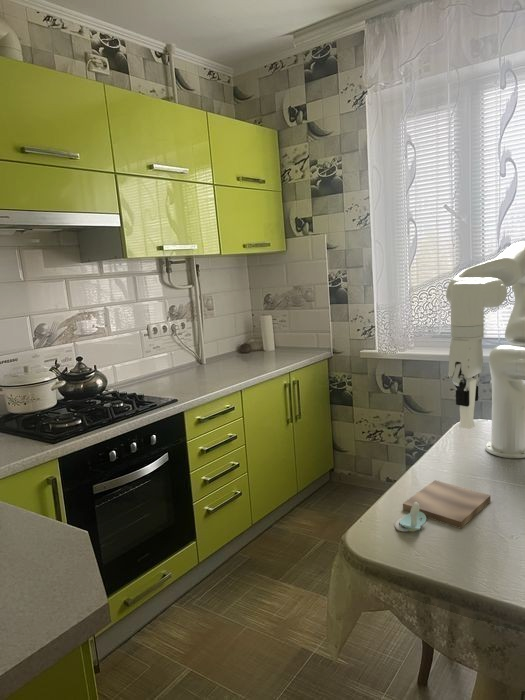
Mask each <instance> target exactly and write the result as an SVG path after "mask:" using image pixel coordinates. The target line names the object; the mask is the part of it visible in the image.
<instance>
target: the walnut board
mask: <svg viewBox="0 0 525 700" xmlns="http://www.w3.org/2000/svg"><path fill="white" fill-rule="evenodd" d="M491 497H492V496H491V495H490V494H487V493H483V492H480V491H477V490H472V489H469V488H466V487H461V486H458V485H454V484H450V483H446V482H443V481H440V480H435V479H434V480H433V481H431V483H429V484H428V485H426V486H425V487H424V488H422V489H420V490H419V491H418V492H416V493H415V494H414V495H412V496H411V497H409V498H408V499H407V500H405V501H404V502H403V503H402V510H404V511H406V512H410V511H411V508H412V506H413V504H414V502H417V503H418V504H419V506H420V509H419V512H422V513H424V514H425V516H426V518H428V519H432V520H434V521H437V522H440V523H442V524H446V525H450V526H451V527H455V528H459V529H462V528H463V527H464V526H465V525H466V524H467V523H469V522H470V521H471V520H472V519H473V518H474V517H475V516H476V515H477V514H479V512H480V511H482V510H483V509H484V508H485V507H486V506H487V505H488V504H489V503H491Z"/></svg>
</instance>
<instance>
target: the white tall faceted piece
mask: <svg viewBox="0 0 525 700" xmlns="http://www.w3.org/2000/svg"><path fill="white" fill-rule="evenodd" d="M460 378H464V376H462V375H461V376H460ZM460 381H461V382H463V384H464V381H463V380H460ZM468 391H469V406H460V405H459V417H460V420H459V423H458V424H459V426H458V427H459V428H461V429H468V430H469V429H472V428H475V421H474V414H475V406H476V405H475V403H476V401H475V393H476V379H474V378H472V377H471V378H469V382H468Z"/></svg>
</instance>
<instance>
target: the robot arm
mask: <svg viewBox="0 0 525 700" xmlns="http://www.w3.org/2000/svg"><path fill="white" fill-rule="evenodd" d="M511 286H512V290H513V292H512V293H513V294H514V305H513V308H512V311H511V313H510V316H509V318H508V321H507V324H506V327H505V332H504V338H505V341H506V342H507V343H508V344H501V345H497V346H495V347H493V349H491V351H490V352H489V357H488V365H489V371H490V378H491V441H487V443H486V444H485V450H486V452H488V453H489V454H492V455H494V456H496V457H500V458H505V459H525V384H524V382H523V381H525V240H524V241H523V240H522V241H519V242H518V241H517V242H516V243H513V244H511V245H510V246H509V247H507V248H506V249H504V250H503V251H502V252H501V253H500V254H499V255H497V257H496V258H494V259H491V260H487V261H485V262H481V263H479V264H476V265H473V266H471V267H467V268H466V269H463V270H461V271H460V272H459V273H458V274H457V275H455V276H454V277H453V278H452V279H451V280H450V281H449V283H448V285H447V288H446V291H445V293H446V295H445V297H446V300H447V302H448V303H449V305H450V338H451V340H450V346H449V353H448V355H449V356H448V357H449V358H448V377H449V378H452V379H451V383H452V384H453V385H454V390H455V404H456V405H457V406H459V407H460V406H469V391H468V382H469V378H471V377H472V378H474V379H476V393H475V402H478V401H479V385H480V379H479V378H480V375H481V373H482V371H483V369H484V368H483V367H484V355H483V338H484V337H485V336H484V335H485V334H484V333H485V332H484V330H485V328H484V327H485V326H484V325H485V324H484V319H485V317H484V316H485V315H484V309H493V308H498V307H499V306H501V305H502V304H503V303H504V302H505V301H506V298H507V295H508V287H511ZM462 376H464V378H460V377H462ZM460 380H463V381H464V384H463V382H461V381H460Z"/></svg>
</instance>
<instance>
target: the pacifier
mask: <svg viewBox="0 0 525 700" xmlns="http://www.w3.org/2000/svg"><path fill="white" fill-rule="evenodd" d="M419 509H420V506H419V504H418V503H417V502H414V504H413V506H412V508H411V511H409V513H407V514H406V515H404V516H403V517H400V518H399V519H397V520H396V521H395V523H394V527H395V529H396V530H397V531H399V532H410V531H413V532H416V531H418V530H421V527H423V526H424V525H425V524H426V523H427V517H426V516H425V514H424V513H422V512H419ZM415 530H416V531H415Z"/></svg>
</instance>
